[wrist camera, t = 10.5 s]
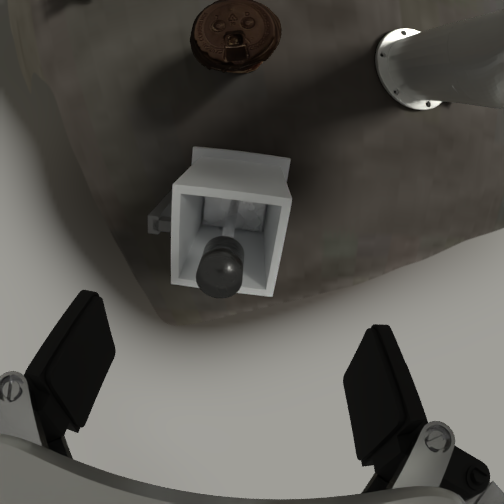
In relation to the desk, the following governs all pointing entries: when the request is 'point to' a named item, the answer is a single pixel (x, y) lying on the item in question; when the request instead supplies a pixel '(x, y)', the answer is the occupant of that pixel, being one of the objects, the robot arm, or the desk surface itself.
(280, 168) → the press housing
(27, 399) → the robot arm
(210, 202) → the plunger
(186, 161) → the desk surface
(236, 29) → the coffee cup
